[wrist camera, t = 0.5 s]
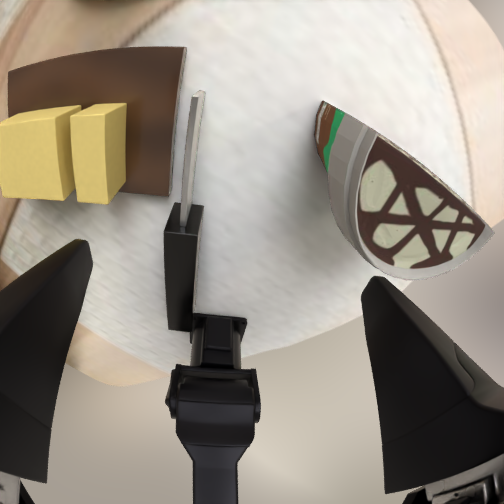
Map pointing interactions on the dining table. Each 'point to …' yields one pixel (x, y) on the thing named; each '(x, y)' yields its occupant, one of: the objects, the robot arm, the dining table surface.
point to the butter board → (115, 101)
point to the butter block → (37, 154)
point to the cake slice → (393, 202)
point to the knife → (184, 235)
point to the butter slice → (99, 151)
